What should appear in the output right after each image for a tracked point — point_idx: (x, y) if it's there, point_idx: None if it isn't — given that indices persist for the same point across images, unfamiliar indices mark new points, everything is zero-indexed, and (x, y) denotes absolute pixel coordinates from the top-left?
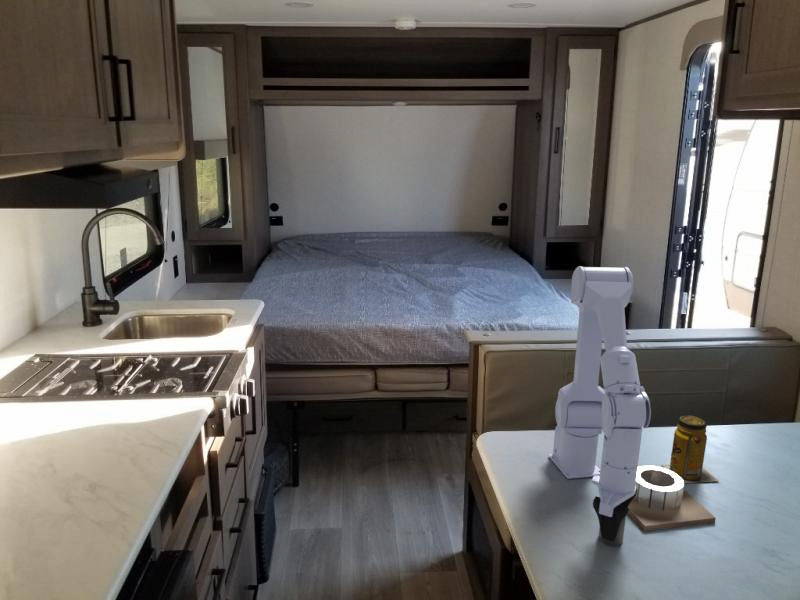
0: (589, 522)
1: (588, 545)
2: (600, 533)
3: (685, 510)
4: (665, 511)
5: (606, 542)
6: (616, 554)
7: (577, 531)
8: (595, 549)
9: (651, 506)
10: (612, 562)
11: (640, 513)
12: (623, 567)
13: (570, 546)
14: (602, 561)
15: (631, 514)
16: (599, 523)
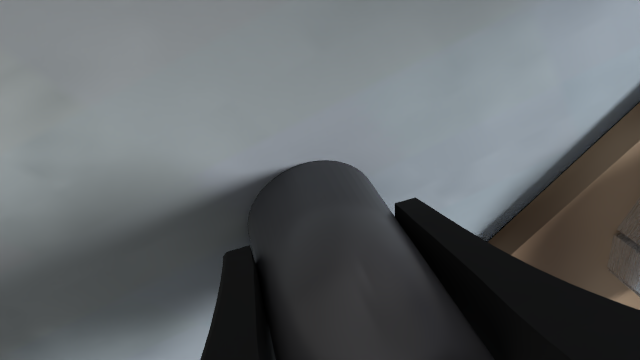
0: (401, 54)
1: (152, 175)
2: (272, 217)
3: (626, 301)
4: (606, 274)
5: (250, 239)
6: (209, 292)
7: (241, 41)
8: (153, 219)
9: (624, 247)
10: (129, 314)
11: (566, 231)
12: (141, 350)
13: (10, 98)
14: (85, 290)
15: (557, 194)
16: (205, 347)
